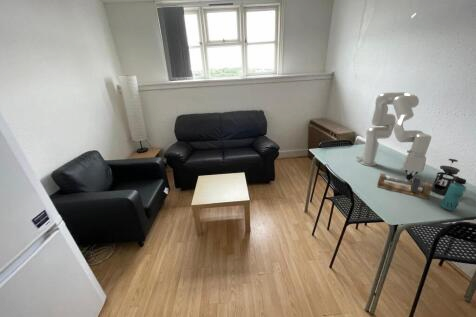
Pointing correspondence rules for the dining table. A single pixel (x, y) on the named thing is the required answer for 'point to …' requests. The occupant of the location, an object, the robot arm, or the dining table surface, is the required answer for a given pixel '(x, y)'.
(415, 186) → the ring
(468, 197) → the dining table surface
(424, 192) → the pipe stand
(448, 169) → the french press
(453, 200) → the beverage bottle
